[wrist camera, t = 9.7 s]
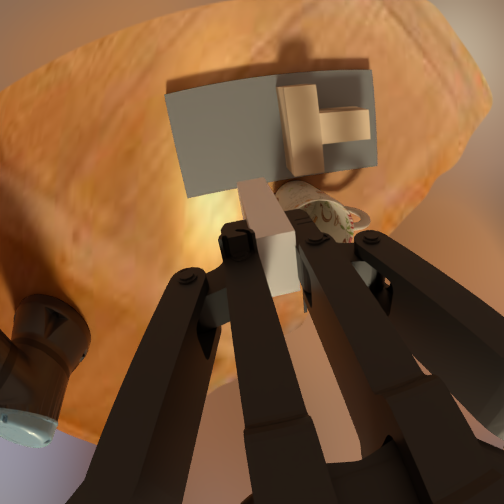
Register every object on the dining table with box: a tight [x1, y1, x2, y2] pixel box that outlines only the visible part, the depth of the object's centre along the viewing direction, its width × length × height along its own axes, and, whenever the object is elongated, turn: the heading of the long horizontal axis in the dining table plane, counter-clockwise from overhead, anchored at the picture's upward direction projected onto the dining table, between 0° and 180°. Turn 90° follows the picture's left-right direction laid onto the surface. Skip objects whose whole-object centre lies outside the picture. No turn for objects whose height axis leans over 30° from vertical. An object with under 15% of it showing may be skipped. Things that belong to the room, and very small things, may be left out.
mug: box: [275, 180, 370, 243], centre depth 38 cm, size 8×13×10 cm, turn 91°
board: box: [164, 70, 377, 198], centre depth 36 cm, size 25×13×2 cm, turn 98°
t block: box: [276, 84, 370, 177], centre depth 34 cm, size 10×10×4 cm
